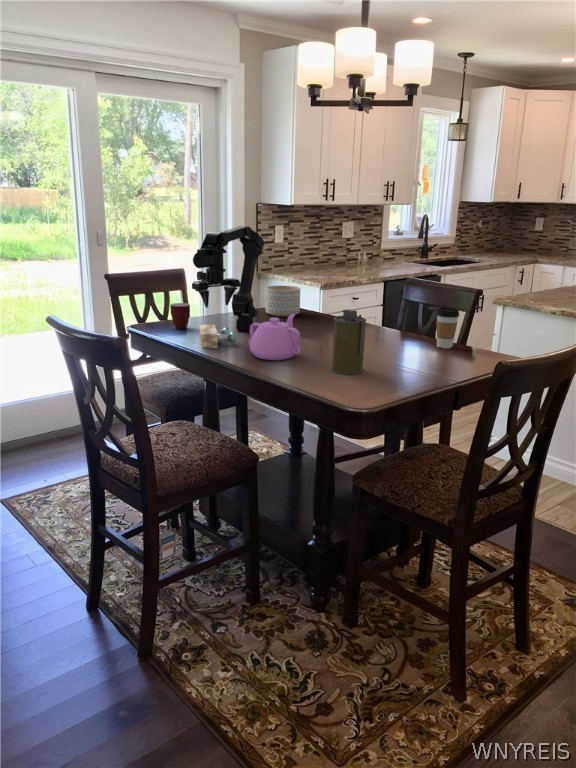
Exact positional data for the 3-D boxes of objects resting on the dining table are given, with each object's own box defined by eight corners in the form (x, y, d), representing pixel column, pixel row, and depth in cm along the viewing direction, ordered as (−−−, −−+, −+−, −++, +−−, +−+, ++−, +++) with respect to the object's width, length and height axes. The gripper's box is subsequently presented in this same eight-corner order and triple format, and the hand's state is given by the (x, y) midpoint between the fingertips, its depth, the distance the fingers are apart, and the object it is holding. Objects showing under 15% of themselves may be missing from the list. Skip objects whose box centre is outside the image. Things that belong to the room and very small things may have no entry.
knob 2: (234, 341, 232) (234, 331, 231) (235, 344, 228) (235, 333, 227) (208, 342, 230) (208, 331, 229) (209, 345, 226) (209, 334, 225)
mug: (197, 329, 254) (196, 305, 251) (180, 331, 249) (180, 308, 246) (183, 325, 261) (183, 302, 258) (167, 327, 256) (166, 304, 253)
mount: (214, 337, 241) (214, 324, 239) (217, 347, 225) (217, 334, 223) (199, 337, 240) (199, 324, 238) (201, 348, 224) (201, 334, 222)
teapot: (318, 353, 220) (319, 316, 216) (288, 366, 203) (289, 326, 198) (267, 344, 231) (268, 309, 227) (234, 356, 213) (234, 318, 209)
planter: (284, 310, 301) (285, 284, 297) (306, 315, 289) (307, 288, 285) (258, 313, 291) (258, 287, 287) (280, 319, 279) (280, 291, 275)
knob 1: (227, 337, 239) (227, 326, 238) (228, 339, 235) (228, 329, 234) (207, 337, 238) (207, 327, 237) (208, 340, 234) (207, 329, 233)
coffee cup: (437, 343, 240) (441, 305, 235) (458, 346, 236) (462, 308, 231) (430, 347, 233) (434, 308, 228) (452, 350, 229) (456, 311, 224)
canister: (325, 369, 200) (327, 310, 194) (345, 364, 207) (348, 306, 201) (350, 376, 193) (353, 315, 187) (370, 371, 200) (374, 311, 194)
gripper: (225, 262, 241) (225, 301, 246) (183, 265, 230) (185, 305, 235) (240, 265, 233) (241, 305, 238) (199, 268, 222) (200, 310, 226)
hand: (216, 306), depth 234 cm, fingers open, 9 cm apart
